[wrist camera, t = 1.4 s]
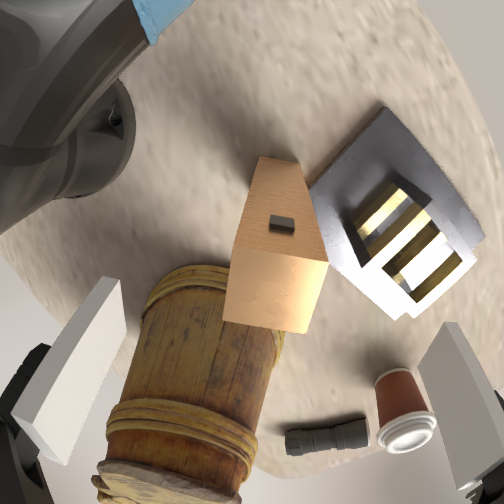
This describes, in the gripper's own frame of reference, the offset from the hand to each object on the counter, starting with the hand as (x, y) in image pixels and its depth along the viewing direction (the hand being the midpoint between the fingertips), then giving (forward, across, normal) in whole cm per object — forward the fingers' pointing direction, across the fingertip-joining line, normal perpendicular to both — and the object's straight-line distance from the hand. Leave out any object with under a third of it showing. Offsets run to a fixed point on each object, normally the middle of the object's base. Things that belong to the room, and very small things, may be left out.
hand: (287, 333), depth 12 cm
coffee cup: (+22, +24, -28) cm, 43 cm away
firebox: (+22, +13, -3) cm, 26 cm away
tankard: (+22, -7, -22) cm, 32 cm away
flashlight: (+22, +17, -43) cm, 51 cm away
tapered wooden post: (+22, 0, 0) cm, 23 cm away
